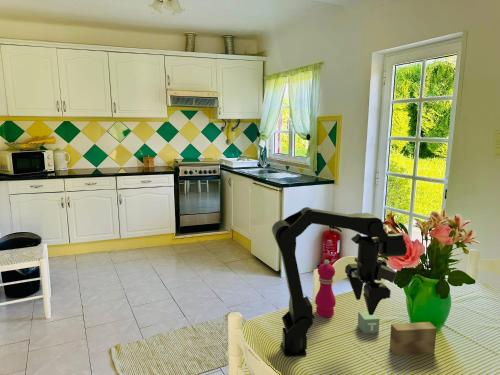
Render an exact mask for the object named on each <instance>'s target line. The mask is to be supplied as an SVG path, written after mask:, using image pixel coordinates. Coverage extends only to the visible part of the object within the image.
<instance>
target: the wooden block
mask: <svg viewBox="0 0 500 375" xmlns="http://www.w3.org/2000/svg"><path fill="white" fill-rule="evenodd" d="M436 335H437V327H436V326H435V325H434V324H432V323H431V322H430V321H422V322H421V321H420V322H404V323H402V322H401V323H391V324H390V335H389V336H390V337H389V350H390V351H391V352H392V354H393V355H394V356H395V357H396V356H409V355H410V356H411V355H427V354H435V353H436V352H435V351H436V350H435V349H436V338H437V336H436Z"/></svg>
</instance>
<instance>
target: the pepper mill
mask: <svg viewBox="0 0 500 375" xmlns="http://www.w3.org/2000/svg"><path fill="white" fill-rule="evenodd" d="M317 274H318V276H319V277H318V281H319V288H318V289H319V290H318V291H317V293H316V296H315V297H314V298H315V299H314V302H315V305H316V308H315V312H316V314H317V315H318V316H319V317H323V318H331V317H333V316H334V315H335V309H334V307H335V306H336V297H335V294H334V291H333V286H332V285H333V283H334V277H335V275H336V270H335V267H334V265H332V264H331V263H330V261H329V259H325V260H324V261H323V263H321V264H320V265H319V266H318V268H317Z"/></svg>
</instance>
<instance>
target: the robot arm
mask: <svg viewBox="0 0 500 375" xmlns="http://www.w3.org/2000/svg"><path fill="white" fill-rule="evenodd" d="M311 225H321V226H328V227H335V228H340V229H348V230H351V231H353V232H356V235H354V236H352V237H351V239H350V240H351V241H352V242H353V243H354V244H357V257H354V262H356V263H348V264H347V265H345V268H344V273H346V277H347V279H348V281H349V282H348V283H349V284H350V286H351V288H352V292H353V295H354V297H355V299H356V300H357V301H359V300H361V298H362V297H361V296H362V294H363V299H364V302H365V305H366V309H367V310H366V311H368V313H369V315H373V314H374V313H375V312H376V310H377V307H378V305H379V303H380V302H381V301H382V300H385V299H390V298H391V292H392V291H391V289H390V288H389V287H388V286H387V285H385V283H384V282H379V281H382V280H385V281H388V282H389V283H391V284H392V283H394V282H395V280H396V277H397V275H398V272H397V271H395V270H394V269H393V268H391V267H390V266H388V264H387V262H386V261H385V260H382V259H380V260H379V254H380V255H381V256H382V257H383V258H404V257H405V256H406V255H407V253H408V252H407V251H408V248H407V244H406V243H407V242H406V241H405V239H404V234H402V233H399V232H398V233H387V231H386V229H385V228H384V222H383V221H382V219H381V218H379V217H377V216H375V215H374V214H372V213H368V212H356V213H348V214H347V213H341V212H336V211H335V212H334V211H329V210H322V209H316V208H311V207H308V206H306V207H303V208H301V209H300V210H298V211H297V212H295V213H293V214H291V215H289V216H286V217H285V218H284V219H280V220H278V221H276V222H275V223H274V224H273V226H272V227H271V232H272V235H273V237H274V240H275V243H276V244H277V247H278V249H279V252H280V256H281V261H282V264H283V270H284V274H285V279H286V284H287V289H288V293H289V294H288V295H289V299H288V311H287V312H286V313H285V314H284V315H283V316H282V317H281V320H282V323H283V326H284V327H283V328H282V341H281V343H280V345H281V347H282V351H283V354H284V356H285V357H295V356H296V357H299V356H307V348H308V336H307V334H308V331H309V329H311V327H312V326H313V324H314V319H316V317H315V316H314V311H313V305H312V302H311V301H310V300H309V297H308V296H304V292H303V287H302V282H301V278H300V270H299V266H298V262H297V257H296V251H297V250H296V248H297V238H298V237H299V236H301V235H302V234H303V233H304V232H305V231H306V230H307V229H308V228H309V227H310V226H311ZM376 281H378V282H376ZM364 283H365V284H364ZM362 292H363V293H362Z"/></svg>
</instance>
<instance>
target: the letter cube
mask: <svg viewBox="0 0 500 375" xmlns="http://www.w3.org/2000/svg"><path fill="white" fill-rule="evenodd" d="M357 313H358V314H357V326H358V328H359V329H360V331H361V332H362V333H363V334H364V335H365V334H378V333H380V317H379V316H378V315H377V314H376V313H375V312H374V314H373V315H369V313H368V310H365V311H358V312H357Z"/></svg>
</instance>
